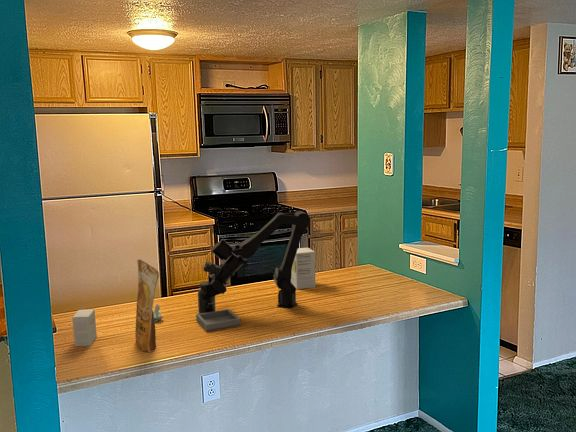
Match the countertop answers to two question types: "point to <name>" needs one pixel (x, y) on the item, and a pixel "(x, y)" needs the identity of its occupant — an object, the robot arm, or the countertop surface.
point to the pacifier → (157, 313)
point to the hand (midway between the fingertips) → (202, 296)
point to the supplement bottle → (206, 304)
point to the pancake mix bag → (146, 306)
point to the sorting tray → (217, 320)
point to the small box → (84, 327)
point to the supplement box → (303, 269)
